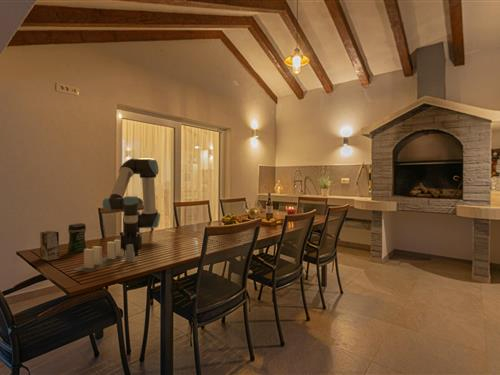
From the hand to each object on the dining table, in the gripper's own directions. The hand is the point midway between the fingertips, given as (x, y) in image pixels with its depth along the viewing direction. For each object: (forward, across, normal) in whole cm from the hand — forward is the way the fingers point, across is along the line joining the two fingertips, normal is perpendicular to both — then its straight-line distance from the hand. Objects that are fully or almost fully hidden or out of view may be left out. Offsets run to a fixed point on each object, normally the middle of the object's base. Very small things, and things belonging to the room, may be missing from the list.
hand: (130, 261), depth 155 cm
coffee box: (+1, -50, -9) cm, 51 cm away
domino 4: (0, -14, +6) cm, 15 cm away
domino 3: (0, -14, +1) cm, 14 cm away
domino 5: (0, 0, 0) cm, 0 cm away
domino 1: (0, -14, -16) cm, 21 cm away
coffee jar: (+1, -47, +8) cm, 48 cm away
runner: (0, -14, -6) cm, 15 cm away
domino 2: (0, -14, -10) cm, 17 cm away
